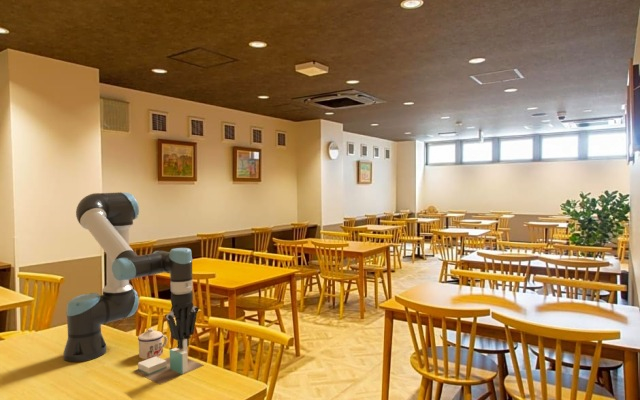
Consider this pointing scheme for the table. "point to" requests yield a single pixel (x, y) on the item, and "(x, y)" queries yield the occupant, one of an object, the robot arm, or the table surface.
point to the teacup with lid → (151, 344)
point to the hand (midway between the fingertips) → (183, 356)
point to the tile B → (178, 360)
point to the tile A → (152, 365)
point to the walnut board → (168, 372)
